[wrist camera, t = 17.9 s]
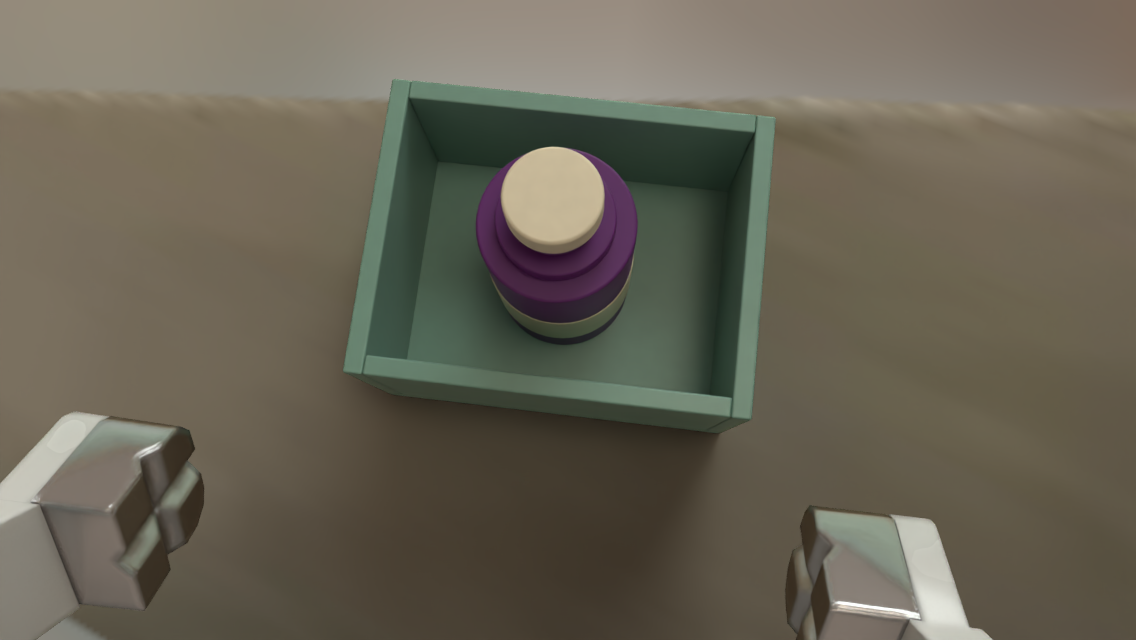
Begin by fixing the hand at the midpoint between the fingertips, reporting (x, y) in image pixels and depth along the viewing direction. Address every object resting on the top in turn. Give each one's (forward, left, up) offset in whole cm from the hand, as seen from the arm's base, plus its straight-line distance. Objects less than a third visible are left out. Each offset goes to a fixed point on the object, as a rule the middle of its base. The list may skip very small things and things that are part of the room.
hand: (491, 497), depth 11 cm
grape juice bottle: (0, -6, -14) cm, 15 cm away
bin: (0, -6, -14) cm, 16 cm away
